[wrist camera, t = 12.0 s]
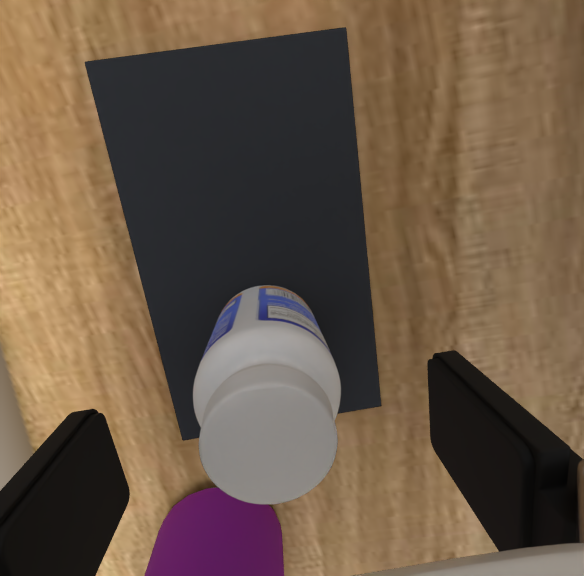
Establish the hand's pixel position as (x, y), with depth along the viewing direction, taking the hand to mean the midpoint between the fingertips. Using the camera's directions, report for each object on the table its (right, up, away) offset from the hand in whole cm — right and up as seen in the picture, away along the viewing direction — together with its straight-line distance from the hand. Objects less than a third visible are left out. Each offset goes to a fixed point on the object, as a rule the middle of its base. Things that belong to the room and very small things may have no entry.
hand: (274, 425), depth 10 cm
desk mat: (-1, +6, +9) cm, 10 cm away
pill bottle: (-1, +2, +9) cm, 10 cm away
